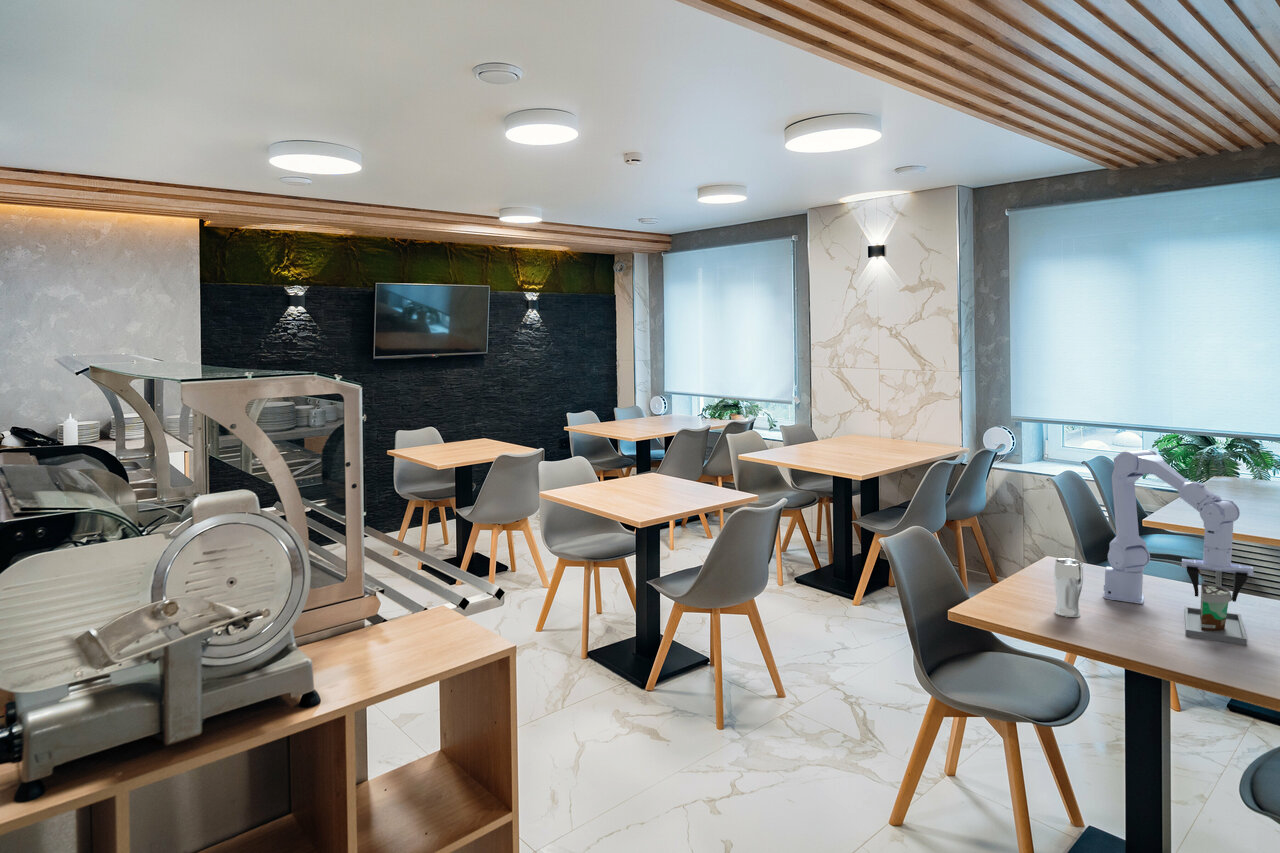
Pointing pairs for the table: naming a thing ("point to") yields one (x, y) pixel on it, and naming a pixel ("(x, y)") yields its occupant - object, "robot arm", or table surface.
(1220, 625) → the food container
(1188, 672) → the table surface
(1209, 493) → the robot arm
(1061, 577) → the beer glass
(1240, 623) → the gray tray
